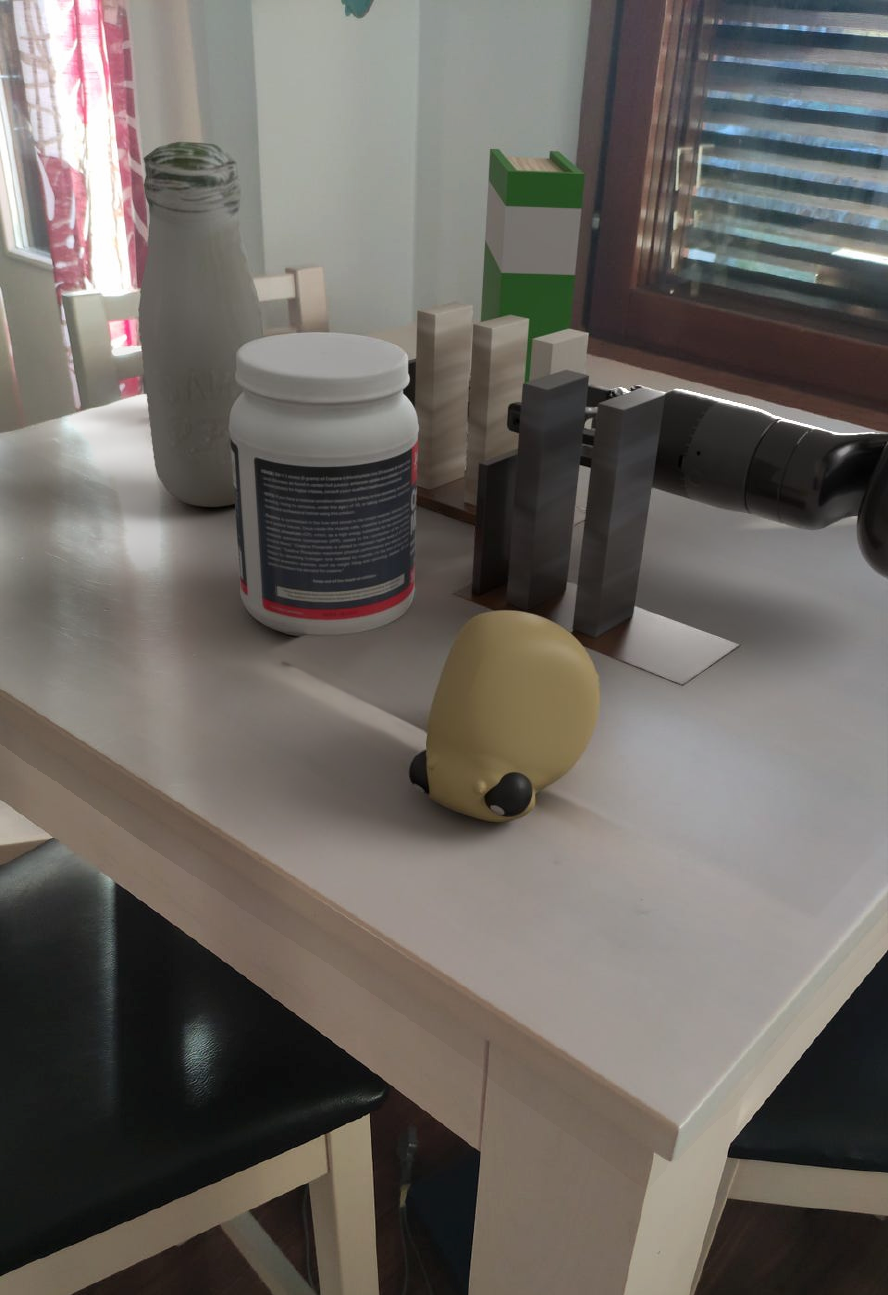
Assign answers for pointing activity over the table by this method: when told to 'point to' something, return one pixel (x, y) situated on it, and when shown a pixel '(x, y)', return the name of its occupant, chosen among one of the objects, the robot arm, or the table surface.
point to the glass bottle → (194, 317)
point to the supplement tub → (324, 482)
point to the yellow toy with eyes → (506, 715)
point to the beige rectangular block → (558, 353)
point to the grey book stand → (541, 524)
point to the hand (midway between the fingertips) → (541, 404)
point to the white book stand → (464, 402)
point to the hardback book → (531, 242)
